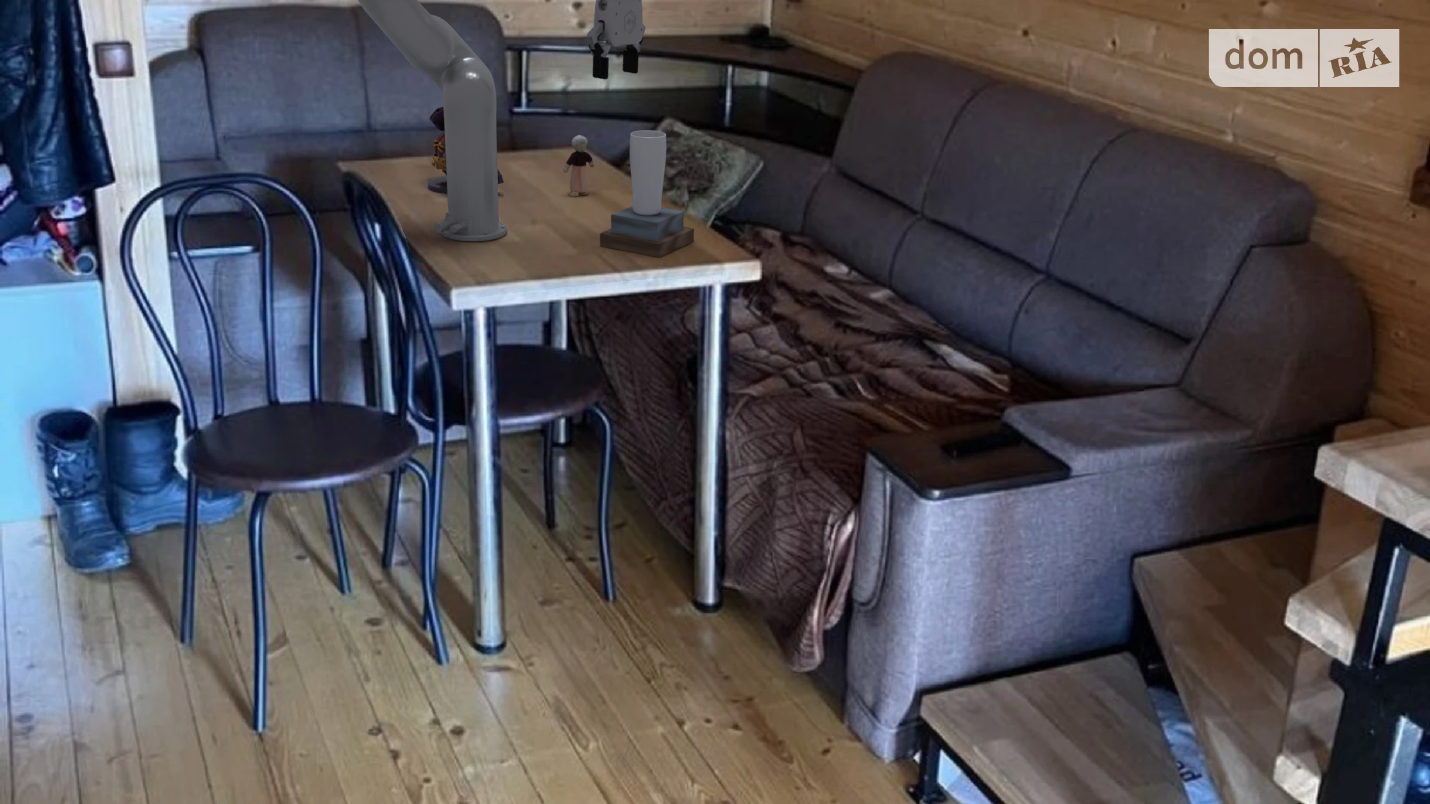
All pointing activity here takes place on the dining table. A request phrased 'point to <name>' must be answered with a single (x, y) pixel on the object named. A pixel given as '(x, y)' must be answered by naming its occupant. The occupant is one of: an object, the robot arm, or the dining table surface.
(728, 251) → the dining table surface
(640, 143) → the drinking glass
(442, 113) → the figurine
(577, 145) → the grandmother figurine
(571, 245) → the dining table surface
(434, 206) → the dining table surface
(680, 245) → the stone block on base
